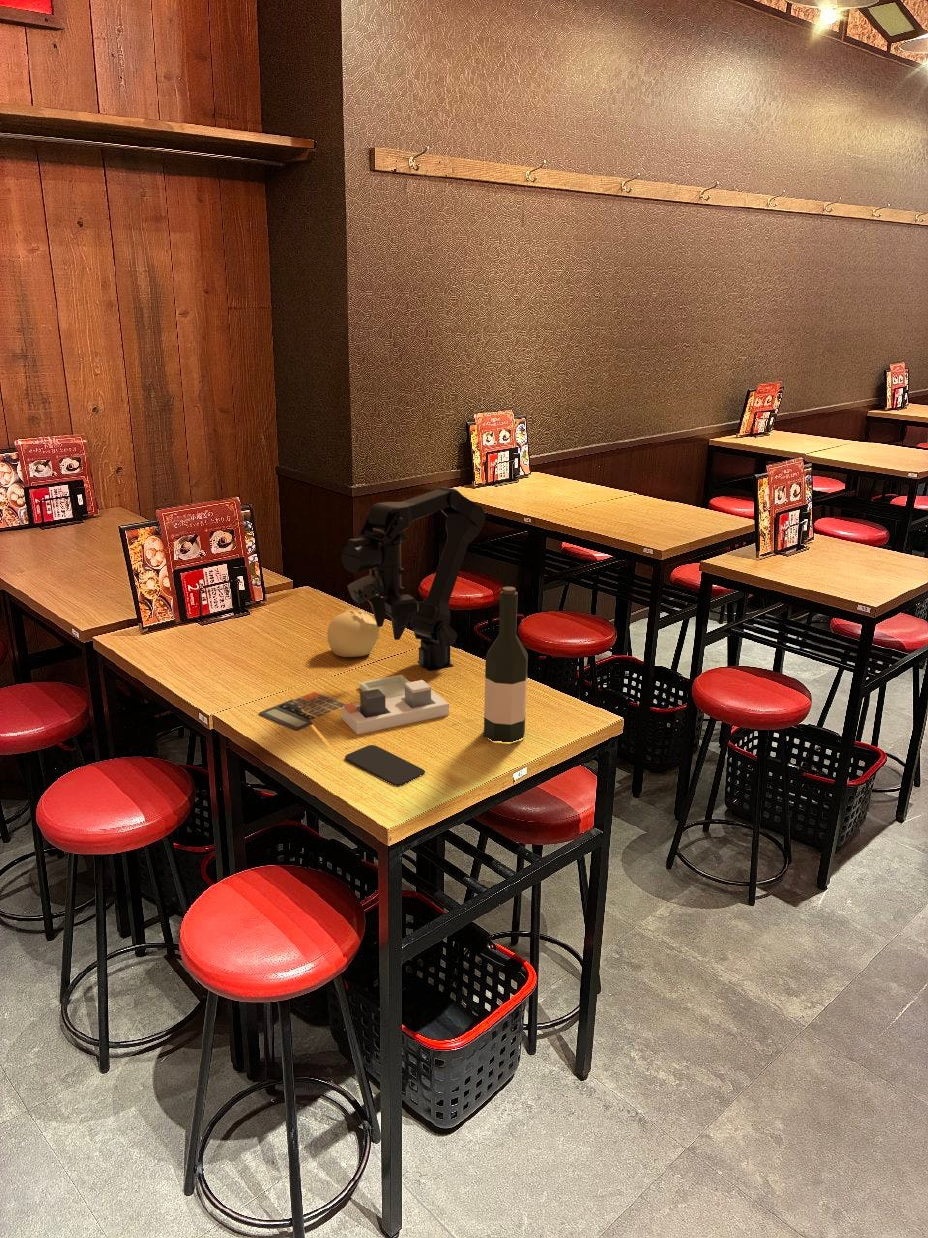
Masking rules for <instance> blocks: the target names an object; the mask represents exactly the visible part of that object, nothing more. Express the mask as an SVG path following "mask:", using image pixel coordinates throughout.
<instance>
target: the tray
mask: <svg viewBox="0 0 928 1238" xmlns="http://www.w3.org/2000/svg"><path fill="white" fill-rule="evenodd" d="M408 682H411V681H410V680H408V679H407V677H405V676H404V675H403V674H397V675H392V676H387V677H386V676H385V677H381V678H377V679H376V678H375V679H371V680H365V681H361V682H358V683H359V685H358V686H359V687H358V688H359V689H360V690H362V691H361V692H364V691H369V690H374V689H378V690H380V691H381V692H382V693H383V694H384V695H385V699H386V698H391V697H396V696H401V695H405V683H408Z"/></svg>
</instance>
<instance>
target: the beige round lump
mask: <svg viewBox="0 0 928 1238" xmlns="http://www.w3.org/2000/svg"><path fill="white" fill-rule="evenodd" d="M380 628H381V627H378V626H377V624H376V620H375V618H373V617H372V615H370V614H368V613H367V612H365V610H364V609H345V610H344V612H342V613H340V614H337V616H335V617H334V618H333V619H332V620H331V621H330V623H329V625H328V628H327V635H326V636H327V642H328V644H329V647H330V649H331V650H332V652H333V653H334V654H335V655H337V656H338V657H344V658H348V657H349V658H355V657H356V658H357V657H364V656H365V657H366V656H367V655H369V654H370V653H371V652H372V651H373V649H374V647H375V645H376V643H377V641H378V640H379V637H380Z"/></svg>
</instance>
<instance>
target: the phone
mask: <svg viewBox="0 0 928 1238" xmlns="http://www.w3.org/2000/svg"><path fill="white" fill-rule="evenodd" d="M344 760H345V762H348V763H350V765H351V764H352V765H354V766H355V767H357V768H359V769H361V770H363V771H365V772H367V773H369V774H370V773H371V775H372V774H373V776H374V775H375V776H374V777H376V776H377V777H376V778H378V777H379V778H378V779H380V780H382V779H383V780H382V781H384V780H385V781H384V782H386V781H387V783H388V782H389V783H388V784H390V783H391V784H390V785H392V784H393V785H392V786H394V785H396V786H395V787H401V786H400V785H402V786H404V785H406V784H405V783H407V784H408V782H409V781H411V780H413V779H415V778H417V777H419V776H420V775H423V774H424V773H425V774H426V770H425V769H424V768H421V767H419V766H418V765H416V764H413V763H412V762H409V761H408V760H406V759H404V758H401V757H399V756H398V755H395V754H394V753H392V752H390V751H388V750H385V749H384V748H381V747H380V746H378V745H374V744H370V745H366V746H364V747H360V748H359V749H357V750H354V751H352V752H350V753H347V754H346V755H345V757H344ZM425 774H424V775H425ZM424 775H423V776H424ZM419 778H420V777H419ZM417 779H418V778H417ZM415 780H416V779H415ZM413 781H414V780H413ZM411 782H412V781H411ZM409 783H410V782H409ZM403 784H404V785H403Z"/></svg>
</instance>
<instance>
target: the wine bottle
mask: <svg viewBox="0 0 928 1238" xmlns="http://www.w3.org/2000/svg"><path fill="white" fill-rule="evenodd" d="M518 593H519V592H518V591H516V587H514V586H503V587H502V590H501V591H500V592H499V620H498V635H497V637H496V638H495V640H494V642H493V643H492V644H491V646H490V648H489V649H488V650H487V652H486V656H485V668H484V669H485V671H484V673H485V674H484V710H483V711H484V713H483V717H484V718H483V737H484V738H485V737H487V738H489V739H491V740H492V741H502V742H513V741H516V740H519V739H521V738H523V737H525V734H524V733H526V714H527V711H526V709H527V686H528V685H527V683H528V663H529V661H528V660H529V654H528V652H527V650H526V648H525V647H524V645H523V643H522V642H521V640H520V638H519V637H518V635H517V626H518V621H517V620H518V600H519V599H518V596H519V594H518ZM487 738H486V739H487ZM523 739H524V738H523Z"/></svg>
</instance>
